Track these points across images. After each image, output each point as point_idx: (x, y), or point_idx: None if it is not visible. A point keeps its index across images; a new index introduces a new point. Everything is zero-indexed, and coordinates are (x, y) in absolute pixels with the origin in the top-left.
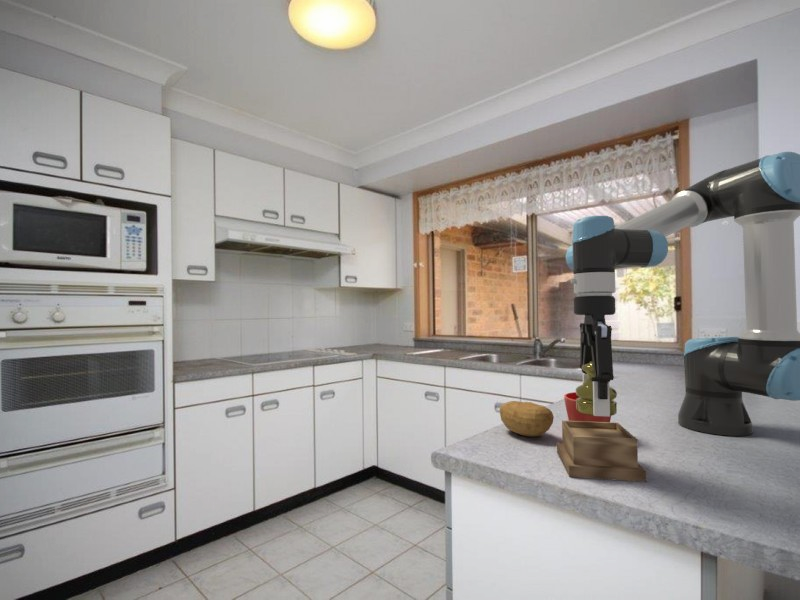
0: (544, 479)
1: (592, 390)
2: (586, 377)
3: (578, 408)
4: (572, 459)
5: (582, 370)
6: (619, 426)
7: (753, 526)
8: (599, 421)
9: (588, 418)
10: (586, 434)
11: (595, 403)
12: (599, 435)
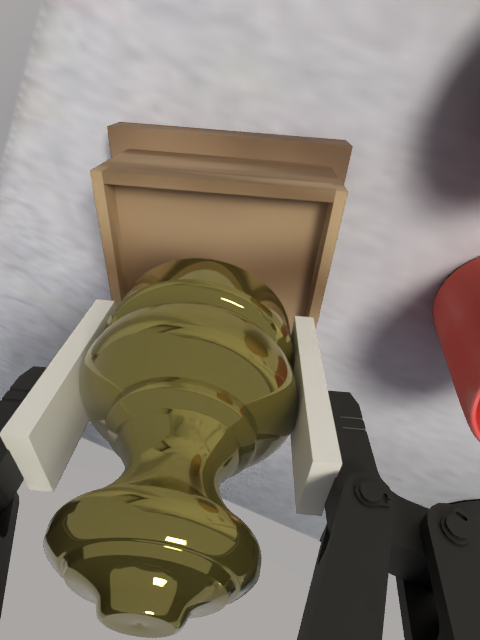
0: (70, 13)
1: (92, 384)
2: (307, 452)
3: (177, 265)
4: (143, 151)
5: (361, 491)
6: None
7: (8, 377)
8: (447, 351)
9: (465, 326)
10: (221, 249)
11: (72, 339)
12: None
